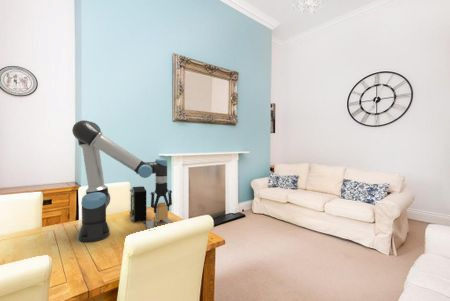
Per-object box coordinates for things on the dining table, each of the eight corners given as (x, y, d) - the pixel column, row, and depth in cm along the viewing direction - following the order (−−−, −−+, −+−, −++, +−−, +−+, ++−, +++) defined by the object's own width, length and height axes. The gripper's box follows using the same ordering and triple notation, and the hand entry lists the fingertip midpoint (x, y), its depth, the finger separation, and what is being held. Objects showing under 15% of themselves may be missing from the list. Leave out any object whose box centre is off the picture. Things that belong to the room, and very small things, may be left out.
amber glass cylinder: (154, 226, 143) (154, 218, 143) (153, 225, 145) (153, 217, 144) (157, 225, 144) (157, 217, 144) (156, 224, 146) (156, 216, 146)
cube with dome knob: (158, 220, 149) (158, 205, 149) (155, 217, 154) (155, 202, 154) (167, 218, 153) (167, 203, 152) (164, 216, 158) (164, 201, 157)
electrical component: (129, 214, 167) (129, 187, 166) (144, 213, 171) (144, 186, 170) (131, 222, 151) (131, 192, 150) (147, 220, 155) (147, 191, 154)
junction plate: (149, 230, 138) (149, 229, 138) (143, 223, 150) (143, 222, 150) (174, 225, 147) (174, 224, 147) (167, 218, 159) (167, 217, 159)
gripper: (148, 184, 144) (148, 221, 145) (177, 181, 154) (177, 215, 156) (145, 182, 150) (145, 217, 151) (173, 180, 161) (173, 212, 162)
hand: (161, 216), depth 153 cm, fingers closed on cube with dome knob, 6 cm apart
